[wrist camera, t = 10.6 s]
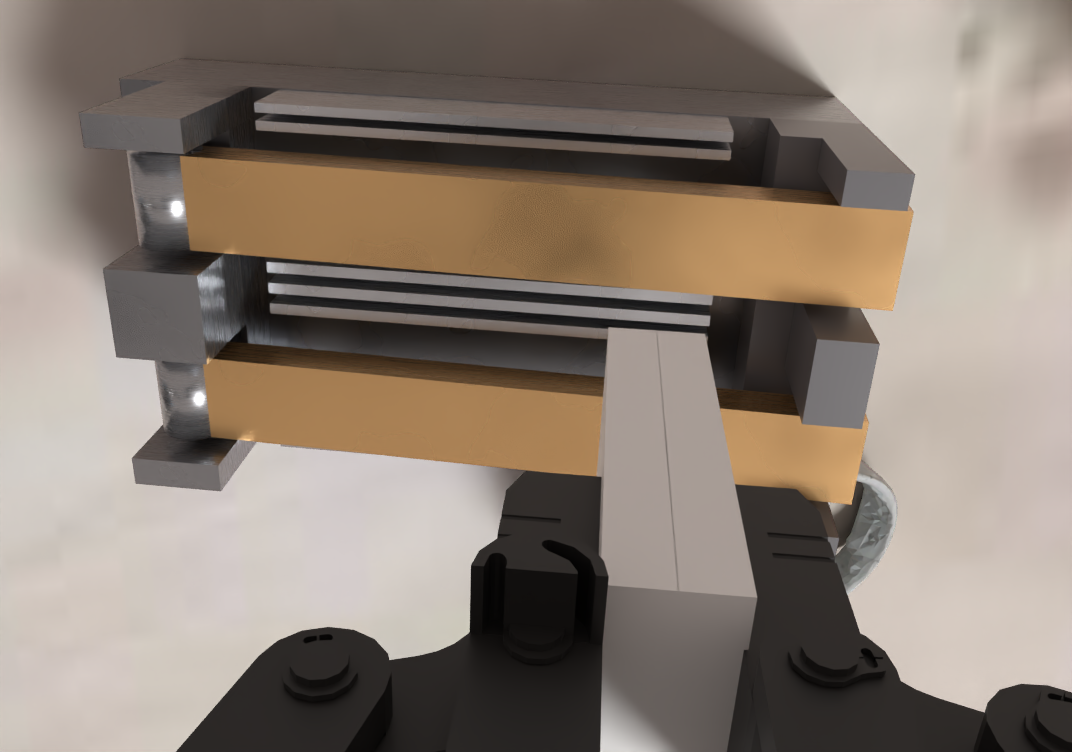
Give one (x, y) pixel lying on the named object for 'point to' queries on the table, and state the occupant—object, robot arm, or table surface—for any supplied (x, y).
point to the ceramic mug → (868, 530)
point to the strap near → (521, 224)
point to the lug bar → (811, 329)
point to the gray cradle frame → (405, 294)
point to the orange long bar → (473, 415)
